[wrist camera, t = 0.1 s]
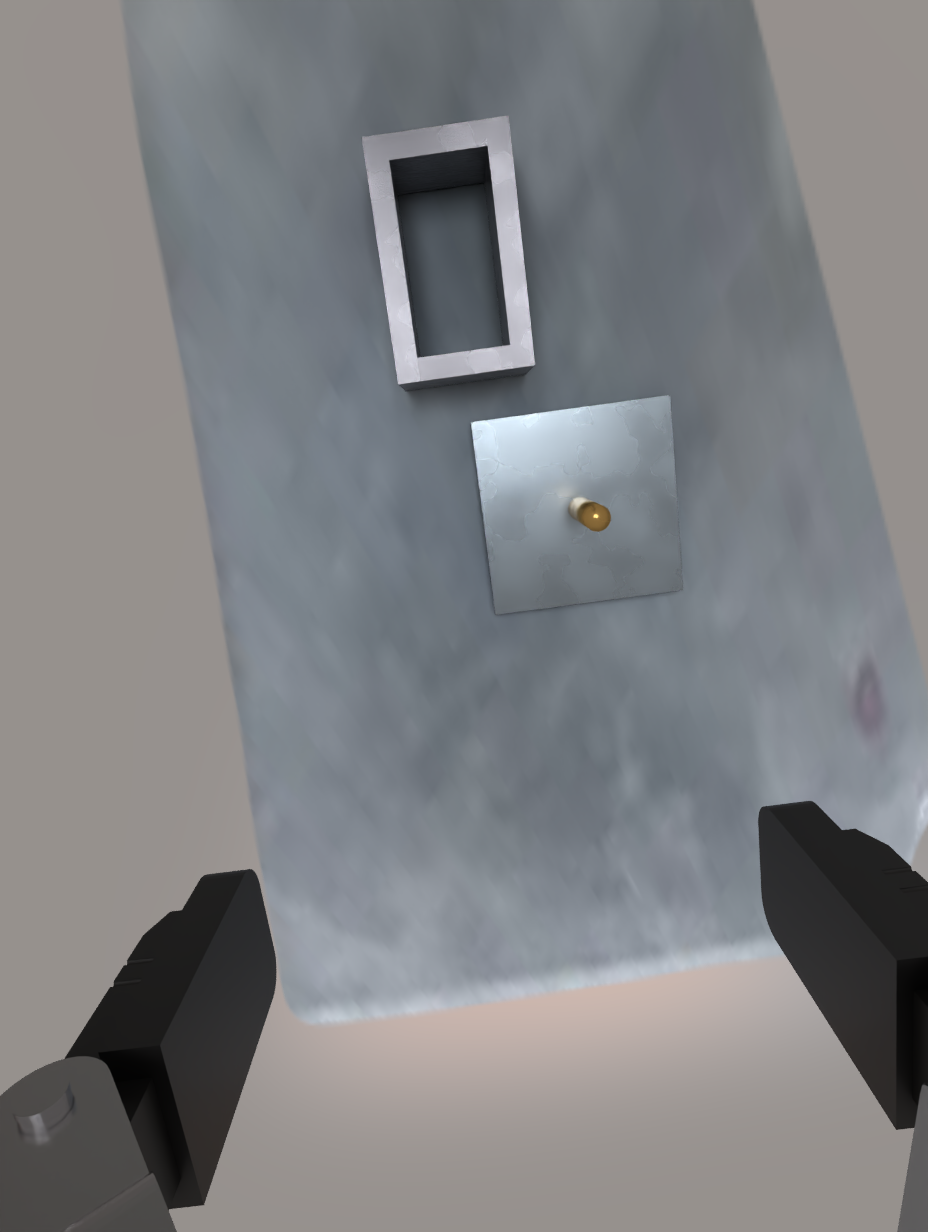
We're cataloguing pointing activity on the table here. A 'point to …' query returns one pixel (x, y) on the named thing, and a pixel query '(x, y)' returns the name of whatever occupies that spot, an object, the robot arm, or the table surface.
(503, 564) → the peg plate
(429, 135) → the grey storage bin
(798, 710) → the table surface
